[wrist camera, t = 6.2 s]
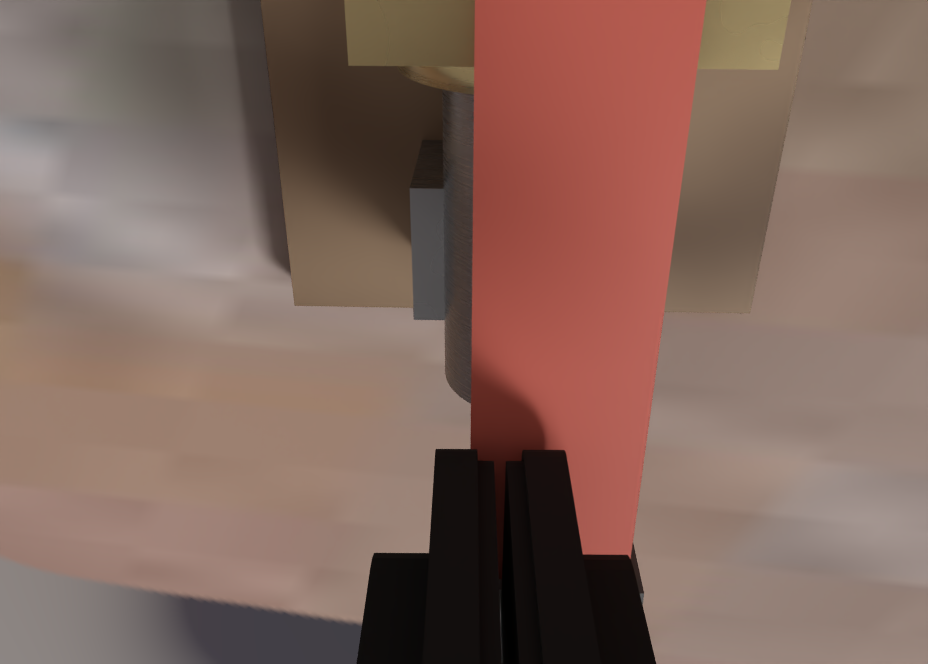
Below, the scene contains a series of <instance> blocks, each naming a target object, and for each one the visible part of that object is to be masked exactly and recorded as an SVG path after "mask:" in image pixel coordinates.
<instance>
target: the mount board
mask: <svg viewBox="0 0 928 664" xmlns="http://www.w3.org/2000/svg"><path fill="white" fill-rule="evenodd" d="M812 1H813V0H791V5H790V10H789V15H788V20H787V26H786V31H785V36H784V42H783V47H782V52H781V58H780V63H779V68H778V70H747V69H697V74H696V81H695V89H694V96H693V103H692V111H691V118H690V126H689V133H688V140H687V148H686V155H685V162H684V170H683V177H682V184H681V192H680V199H679V206H678V214H677V221H676V228H675V236H674V243H673V250H672V258H671V265H670V272H669V280H668V287H667V294H666V302H665V309H664V312H697V313H750V311H751V306H752V301H753V296H754V291H755V286H756V281H757V276H758V271H759V266H760V261H761V256H762V251H763V246H764V241H765V236H766V231H767V226H768V221H769V216H770V211H771V206H772V201H773V196H774V191H775V186H776V181H777V176H778V171H779V166H780V161H781V156H782V151H783V146H784V141H785V136H786V131H787V126H788V121H789V116H790V111H791V106H792V101H793V96H794V91H795V86H796V81H797V76H798V71H799V66H800V61H801V56H802V51H803V46H804V41H805V36H806V31H807V26H808V21H809V16H810V11H811V6H812ZM260 2H261V11H262V20H263V29H264V38H265V47H266V55H267V64H268V73H269V82H270V91H271V100H272V109H273V118H274V127H275V136H276V145H277V153H278V162H279V171H280V180H281V189H282V198H283V207H284V216H285V225H286V234H287V242H288V251H289V260H290V269H291V278H292V287H293V296H294V305H295V306H344V307H403V308H413V279H412V247H411V215H410V185H411V181H412V178H413V174H414V170H415V166H416V162H417V159H418V155H419V151H420V147H421V143H422V140H443V98H442V89H439V88H434V87H431V86H427V85H424V84H421V83H418V82H416V81H413V80H411V79H409V78H407V77H405V76H404V75H402V74H401V73H400V72H399V70H398V68H397V66H348V51H347V35H346V20H345V4H344V0H260Z"/></svg>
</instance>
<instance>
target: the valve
mask: <svg viewBox="0 0 928 664" xmlns="http://www.w3.org/2000/svg"><path fill="white" fill-rule="evenodd" d="M344 4H345V20H346V35H347V51H348V66H397V68H398V70H399V72H400V73H401V74H402V75H404V76H405V77H407V78H409V79H411V80H413V81H416V82H418V83H421V84H424V85H427V86H431V87H434V88H439V89H442V98H443V140H422V143H421V147H420V151H419V155H418V159H417V162H416V166H415V170H414V174H413V178H412V181H411V185H410V215H411V247H412V279H413V312H414V320H445V375H446V379H447V381H448V383H449V385H450V387H451V388H452V389H453V390H454V392H456V393H457V394H458V395H459V396H460V397H461V398H463V399H464V400H466V401H467V402H469V403H471V357H472V251H473V145H474V40H475V0H344ZM790 5H791V0H707V1H706V8H705V15H704V23H703V30H702V37H701V45H700V52H699V59H698V67H697V69H747V70H778V68H779V63H780V58H781V52H782V47H783V42H784V36H785V31H786V26H787V20H788V15H789V10H790Z"/></svg>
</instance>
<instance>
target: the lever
mask: <svg viewBox="0 0 928 664" xmlns="http://www.w3.org/2000/svg"><path fill="white" fill-rule="evenodd" d="M706 1H707V0H475V40H474V145H473V251H472V357H471V449H477V456H478V461H494V471H495V496H496V521H497V547H498V572H499V598H500V623H501V590H502V560H503V531H504V501H505V472H506V461H521V459H522V451H523V450H565V452H566V456H567V461H568V467H569V473H570V479H571V485H572V491H573V497H574V503H575V510H576V516H577V522H578V528H579V534H580V540H581V546H582V552H583V554H596V555H628V556H629V557H630V559H631V562H632V565H633V568H634V572H635V576H636V580H637V585H638V589H639V593H640V597H641V602H642V604H643V597H644V591H643V586H642V582H641V577H640V573H639V568H638V563H637V559H636V554H635V550H634V545H633V537H634V529H635V522H636V515H637V507H638V500H639V492H640V485H641V478H642V470H643V463H644V456H645V448H646V441H647V434H648V426H649V419H650V412H651V404H652V397H653V390H654V382H655V375H656V368H657V360H658V353H659V346H660V338H661V331H662V324H663V316H664V309H665V302H666V294H667V287H668V280H669V272H670V265H671V258H672V250H673V243H674V236H675V228H676V221H677V214H678V206H679V199H680V192H681V184H682V177H683V170H684V162H685V155H686V148H687V140H688V133H689V126H690V118H691V111H692V103H693V96H694V89H695V81H696V74H697V67H698V59H699V52H700V45H701V37H702V30H703V23H704V15H705V8H706ZM501 648H502V644H501Z"/></svg>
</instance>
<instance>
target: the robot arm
mask: <svg viewBox="0 0 928 664" xmlns="http://www.w3.org/2000/svg"><path fill="white" fill-rule="evenodd" d="M501 644H502V648H501ZM357 664H656V661H655V657H654V653H653V648H652V644H651V640H650V636H649V631H648V627H647V623H646V619H645V614H644V610H643V606H642V602H641V597H640V593H639V589H638V585H637V580H636V576H635V572H634V568H633V565H632V562H631V559H630V557H629V556H628V555H596V554H583V552H582V546H581V540H580V534H579V528H578V522H577V516H576V510H575V503H574V497H573V491H572V485H571V479H570V473H569V467H568V461H567V456H566V452H565V450H523V451H522V459H521V461H506V472H505V501H504V531H503V560H502V590H501V623H500V598H499V572H498V547H497V521H496V496H495V471H494V461H478V456H477V449H436V452H435V466H434V483H433V499H432V515H431V531H430V547H429V553H374V555H373V558H372V563H371V568H370V575H369V582H368V589H367V595H366V602H365V609H364V616H363V623H362V630H361V637H360V644H359V651H358V658H357Z"/></svg>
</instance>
